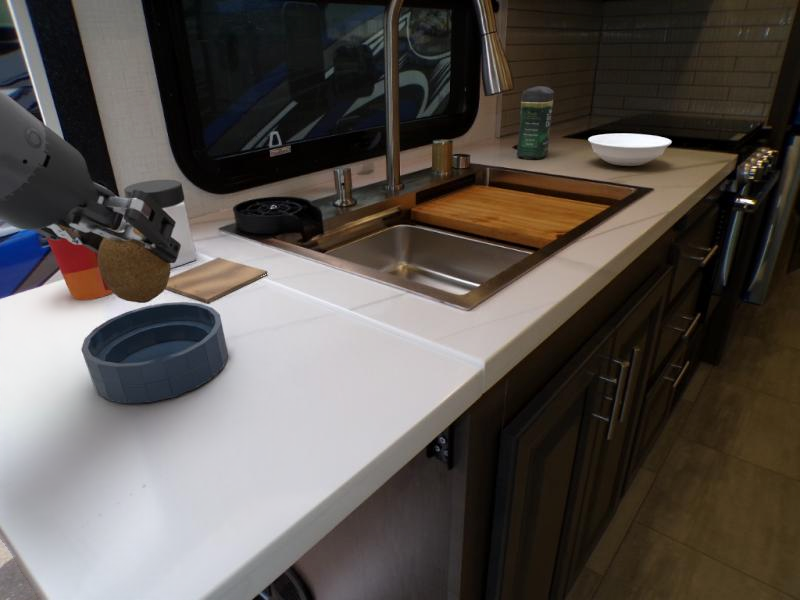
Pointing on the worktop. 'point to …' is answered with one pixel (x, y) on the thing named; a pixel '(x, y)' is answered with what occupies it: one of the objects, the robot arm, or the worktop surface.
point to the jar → (171, 213)
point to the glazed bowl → (155, 352)
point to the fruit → (132, 270)
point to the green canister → (535, 122)
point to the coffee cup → (79, 269)
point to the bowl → (628, 148)
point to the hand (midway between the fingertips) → (144, 251)
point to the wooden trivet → (213, 279)
